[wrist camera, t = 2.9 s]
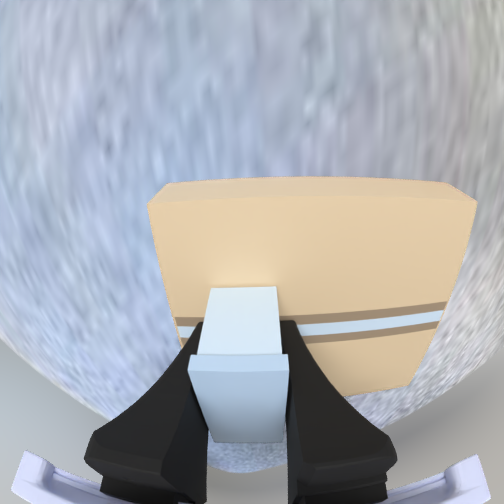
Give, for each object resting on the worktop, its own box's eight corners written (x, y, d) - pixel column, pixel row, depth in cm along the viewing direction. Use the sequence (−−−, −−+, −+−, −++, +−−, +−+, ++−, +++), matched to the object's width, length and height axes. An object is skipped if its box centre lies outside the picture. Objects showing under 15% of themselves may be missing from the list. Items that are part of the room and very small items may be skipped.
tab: (280, 284, 11) (289, 370, 7) (278, 369, 14) (282, 442, 10) (206, 285, 11) (187, 370, 8) (221, 369, 14) (214, 442, 10)
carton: (446, 182, 11) (477, 201, 9) (396, 356, 17) (408, 385, 15) (167, 183, 12) (146, 204, 10) (204, 368, 18) (199, 401, 15)
